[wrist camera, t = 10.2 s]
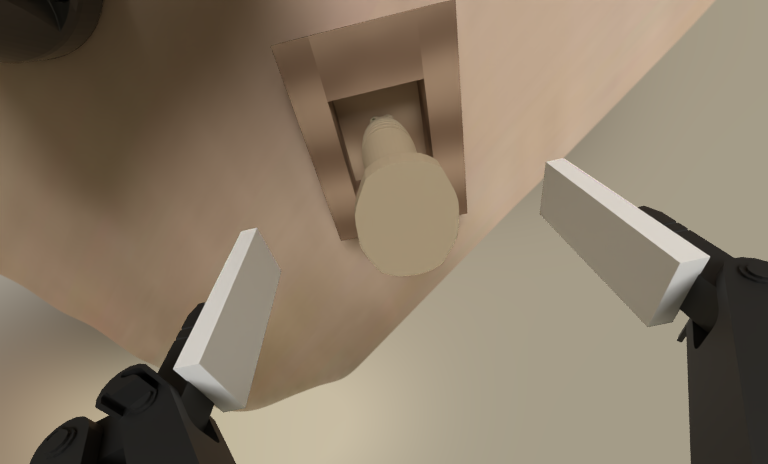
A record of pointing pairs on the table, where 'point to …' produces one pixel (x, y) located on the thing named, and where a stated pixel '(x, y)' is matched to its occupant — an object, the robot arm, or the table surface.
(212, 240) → the table surface
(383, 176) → the handle
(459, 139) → the slot block
